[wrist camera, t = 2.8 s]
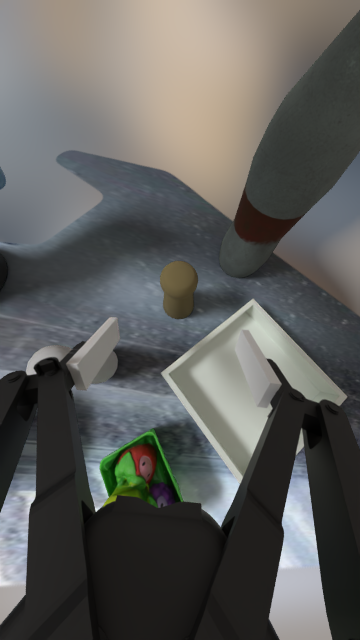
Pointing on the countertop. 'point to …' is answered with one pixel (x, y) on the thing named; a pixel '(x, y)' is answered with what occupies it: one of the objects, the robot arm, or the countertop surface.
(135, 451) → the fruit basket
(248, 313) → the bin
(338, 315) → the countertop surface
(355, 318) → the countertop surface
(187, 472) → the countertop surface
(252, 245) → the bottle
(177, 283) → the cork
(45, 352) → the salt shaker
